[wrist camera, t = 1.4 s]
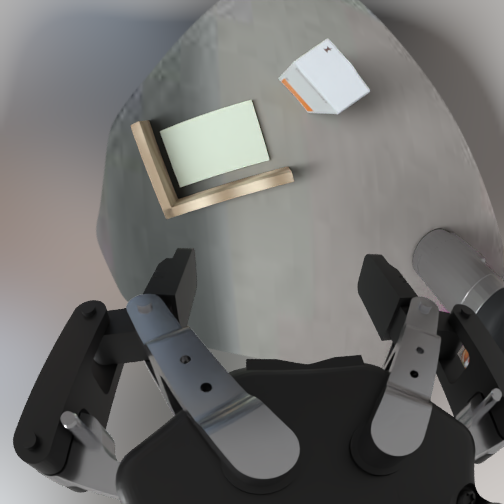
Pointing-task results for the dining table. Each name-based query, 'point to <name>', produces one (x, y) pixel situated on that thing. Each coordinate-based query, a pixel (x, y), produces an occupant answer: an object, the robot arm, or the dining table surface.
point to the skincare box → (324, 80)
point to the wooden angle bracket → (203, 198)
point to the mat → (215, 143)
